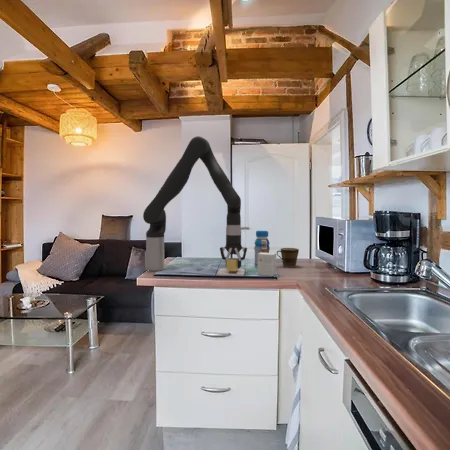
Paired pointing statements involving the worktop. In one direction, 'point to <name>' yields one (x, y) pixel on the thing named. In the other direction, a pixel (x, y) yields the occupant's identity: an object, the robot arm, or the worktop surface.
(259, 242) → the teal labeled canister
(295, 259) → the ceramic cup
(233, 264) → the block
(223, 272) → the floor panel
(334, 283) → the worktop surface
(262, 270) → the small box
